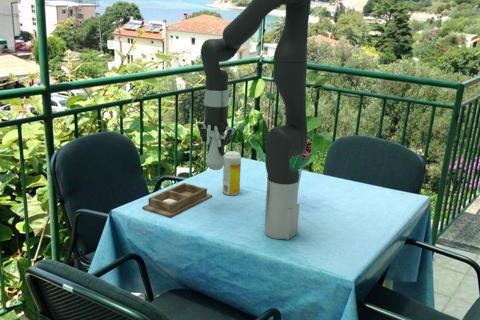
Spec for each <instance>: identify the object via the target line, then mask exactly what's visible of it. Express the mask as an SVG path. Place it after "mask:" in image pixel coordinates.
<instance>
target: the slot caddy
mask: <svg viewBox="0 0 480 320" xmlns="http://www.w3.org/2000/svg"><path fill="white" fill-rule="evenodd" d="M211 198H213V194H210V193H208V188H206V187H201V186H197V185H196V184H195V185H194V184H191V183H186V182H182V183H181V184H178V185H176V186H173V187H171V188H169V189H167V190H164V191H162V192H160V193H157V194H155V195H152V196H151V197H148V199H147V200H148V201H147V202H148V203H147V204H146V205H144V206H141V209H142V210H144V211H147V212H148V213H149V212H150V213H152V214H156V215H159V216H162V217H165V218H169V219H172V218H174V217H176V216H178V215H180V214H182V213H184V212H186V211H188V210H190V209H192V208H194V207H195V206H198V205H200V204H202V203H204V202H206V201H208V200H209V199H211Z"/></svg>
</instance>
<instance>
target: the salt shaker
mask: <svg viewBox="0 0 480 320" xmlns="http://www.w3.org/2000/svg"><path fill="white" fill-rule="evenodd" d="M221 136H223V134H222V135H220V137H221ZM210 137H212V139H211V143H210V148H209V153H208V152H207V157H206V163H207V166H208V168H209V170H213V171H220V170H222V169H223V168H224V163H225V160H224V155H225V154H224V155H223V156H221V154H219V151H218V147H219V146H218V141H217V139H216V133H215V130H211V132H210Z"/></svg>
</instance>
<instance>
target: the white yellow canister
mask: <svg viewBox="0 0 480 320" xmlns="http://www.w3.org/2000/svg"><path fill="white" fill-rule="evenodd" d="M224 160H225V163H224V165H223V171H222V172H223V173H222V176H223V177H222V178H223V179H222V192H223V193H224V195H226V196H231V197H232V196H236V195H238V194H239V193H240V187H241V167H242V166H241V163H242V156H241V153H240V152H238V151H234V150H233V151H231V150H230V151H226V152H224Z"/></svg>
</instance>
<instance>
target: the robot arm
mask: <svg viewBox="0 0 480 320" xmlns="http://www.w3.org/2000/svg"><path fill="white" fill-rule="evenodd" d="M311 4H312V0H251V2H249V4H248V5H247V6H246V7H245V8H244V9H243V10H242V12H240V13H239V14H238V15H237V16H236V17H235V18H234V19H233V20H232V21H231V22H230V23H228V24H227V25H226V26H225V28H224V29H223V30H222V31H223V32H222V38H209V39H207V40H205V41H204V42H202V45H201V48H200V59H201V62H202V66H203V70H204V71H203V72H204V74H205V89H204V90H205V93H204V121H203V122H201V123H198V124H197V128H198V129H197V130H198V132H199V134H200V138H201V141H202V142H203V143H204V142H205V143H206V145H207V147H206V148H207V150H206V151H207V154H208V153H209V148H210V143H211V139H212V137H210V132H211V130H215V133H216V139H217V141H218V146H219V147H218V151H219V154H221V156H223V155H225V146H228V145H230V144H231V141H232V139H233V137H234V135H235V132H236V128H235V127H234V128H233V127H230V126H229V122H228V119H229V99H230V98H229V74H228V72H227V71H226V70H223V69H221V65H220V63H223V62H224V63H225V62H228V61H229V60H231V59H232V58H234V57H235V56H236V54H237V53H238V51H239V50H240V48H241V46H242V45H244V44H245V43H246V42H247V41H249V40H250V39H251V38H252V37H253V36H254V35H255V34H256V33H257V32H258V31H259V29H260V27H261V25H262V22H263V21H264V19H265V18H266V17H267V15H269V14H270V13H271V12H273V11H274V10H275V9H277V8H279V7H281V6H282V5H283V6H285V21H284V25H283V26H284V27H283V30H282V32H281V35H280V37H279V40H278V42H277V44H276V47H275V50H274V54H273V71H272V72H273V73H272V74H273V82H274V84H275V88H276V90H277V91H278V94H279V96H280V97H281V99H282V101H283V104H284V111H285V124H284V125H279V126H275V127H272V128H271V129H270V130H269V131H268V132H267V135H266V138H265V169H266V173H267V177H266V178H267V179H266V193H265V195H266V197H265V213H264V233H265V235H266V236H267V237H269V238H273V239H278V240H287V241H289V240H290V239H292V238H293V237H294V236H296V235H297V234H298V232H299V231H298V229H299V217H300V215H299V214H300V204H299V203H298V197H299V196H298V194H299V182H300V172H299V169H297V168H296V167H293V166H291V165H290V163H291V162H290V159H291V158H293V157H296V156H299V155H301V154H303V153H304V152H305V150H306V149H307V147H308V138H309V137H308V136H309V135H308V119H307V99H306V98H307V95H306V94H307V92H306V91H307V71H308V69H307V68H308V37H309V36H308V35H309V19H310V11H311ZM222 134H223V136H221V137H220V135H222Z"/></svg>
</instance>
